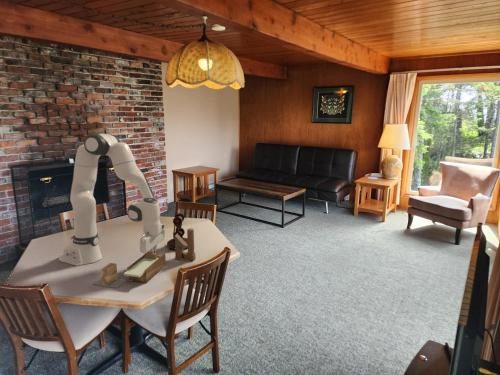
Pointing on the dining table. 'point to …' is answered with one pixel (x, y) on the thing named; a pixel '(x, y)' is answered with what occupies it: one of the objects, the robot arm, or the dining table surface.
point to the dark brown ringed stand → (177, 230)
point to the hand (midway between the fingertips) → (153, 253)
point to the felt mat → (115, 284)
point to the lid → (142, 265)
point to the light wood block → (109, 274)
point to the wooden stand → (185, 246)
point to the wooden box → (149, 269)
